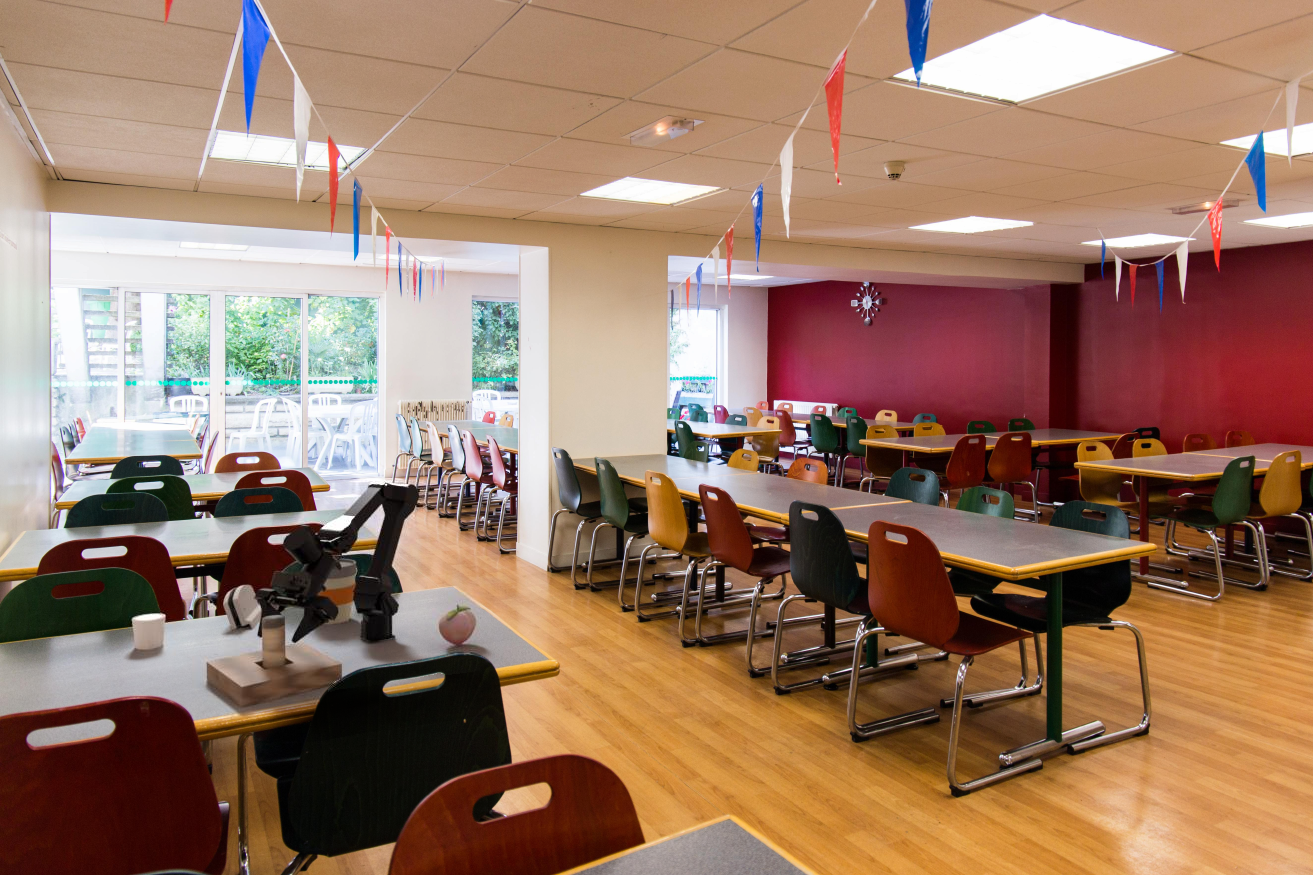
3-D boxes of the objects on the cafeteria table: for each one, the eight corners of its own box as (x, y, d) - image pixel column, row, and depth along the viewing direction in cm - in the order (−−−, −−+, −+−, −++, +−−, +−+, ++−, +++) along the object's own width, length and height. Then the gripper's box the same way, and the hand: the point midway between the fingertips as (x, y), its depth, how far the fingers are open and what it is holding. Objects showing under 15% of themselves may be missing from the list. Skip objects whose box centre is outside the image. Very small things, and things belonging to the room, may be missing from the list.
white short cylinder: (170, 646, 201) (169, 616, 201) (137, 652, 196) (136, 622, 196) (160, 639, 206) (160, 611, 205) (128, 645, 201) (127, 616, 200)
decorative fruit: (449, 638, 210) (449, 598, 210) (480, 641, 209) (480, 600, 208) (431, 650, 201) (431, 608, 200) (464, 652, 199) (464, 610, 199)
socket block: (302, 659, 193) (302, 642, 193) (342, 682, 179) (341, 663, 179) (206, 680, 179) (206, 661, 179) (242, 706, 165) (241, 686, 165)
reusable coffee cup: (322, 611, 232) (321, 557, 231) (365, 614, 231) (365, 559, 230) (296, 624, 220) (296, 567, 219) (342, 627, 218) (342, 569, 217)
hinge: (253, 628, 216) (238, 592, 215) (234, 635, 215) (219, 599, 214) (267, 610, 232) (253, 577, 231) (250, 617, 232) (236, 583, 230)
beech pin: (269, 675, 181) (268, 614, 180) (289, 675, 181) (288, 615, 180) (258, 682, 177) (257, 620, 176) (279, 683, 177) (278, 621, 176)
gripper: (260, 551, 186) (219, 614, 177) (328, 559, 179) (289, 625, 170) (288, 579, 194) (250, 641, 184) (354, 587, 187) (318, 652, 178)
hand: (275, 639), depth 179 cm, fingers open, 9 cm apart
